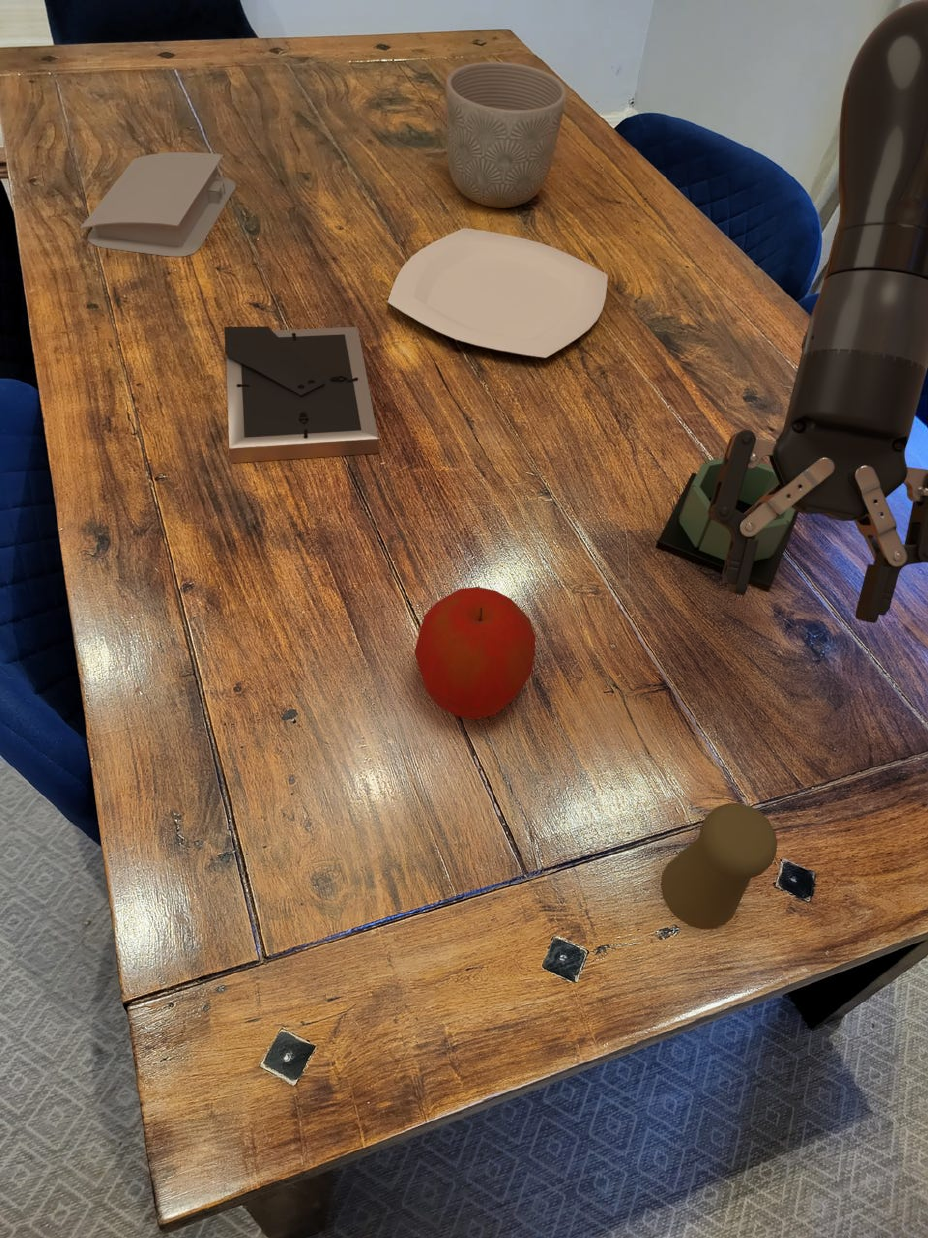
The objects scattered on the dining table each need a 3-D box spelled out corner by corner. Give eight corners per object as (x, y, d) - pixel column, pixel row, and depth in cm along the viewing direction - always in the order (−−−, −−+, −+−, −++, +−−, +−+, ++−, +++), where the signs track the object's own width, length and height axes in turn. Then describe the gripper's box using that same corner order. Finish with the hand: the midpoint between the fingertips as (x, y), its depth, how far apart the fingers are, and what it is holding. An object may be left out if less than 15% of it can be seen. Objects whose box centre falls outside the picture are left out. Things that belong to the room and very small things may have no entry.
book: (240, 179, 131) (237, 152, 128) (192, 259, 117) (187, 231, 114) (139, 166, 131) (134, 138, 128) (80, 244, 117) (71, 215, 114)
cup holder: (795, 518, 94) (817, 477, 90) (768, 592, 88) (789, 552, 83) (690, 478, 97) (706, 436, 92) (655, 547, 90) (670, 505, 86)
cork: (711, 946, 65) (761, 892, 57) (645, 891, 68) (684, 830, 59) (752, 889, 68) (806, 829, 60) (688, 838, 70) (731, 773, 62)
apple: (517, 747, 75) (536, 670, 65) (402, 724, 75) (405, 645, 66) (532, 653, 81) (551, 570, 72) (425, 632, 81) (431, 548, 72)
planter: (417, 186, 134) (421, 76, 122) (497, 157, 141) (507, 51, 130) (494, 233, 127) (506, 122, 115) (573, 200, 134) (592, 93, 123)
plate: (454, 227, 127) (455, 214, 125) (628, 284, 121) (631, 270, 119) (360, 317, 111) (359, 304, 110) (554, 387, 105) (557, 374, 104)
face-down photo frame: (227, 347, 106) (231, 463, 93) (224, 326, 103) (228, 443, 91) (358, 341, 108) (378, 453, 96) (357, 321, 106) (378, 433, 94)
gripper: (766, 326, 53) (703, 589, 55) (1007, 371, 52) (934, 637, 54) (738, 350, 60) (684, 581, 62) (948, 390, 59) (887, 623, 61)
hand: (800, 607), depth 58 cm, fingers open, 8 cm apart
